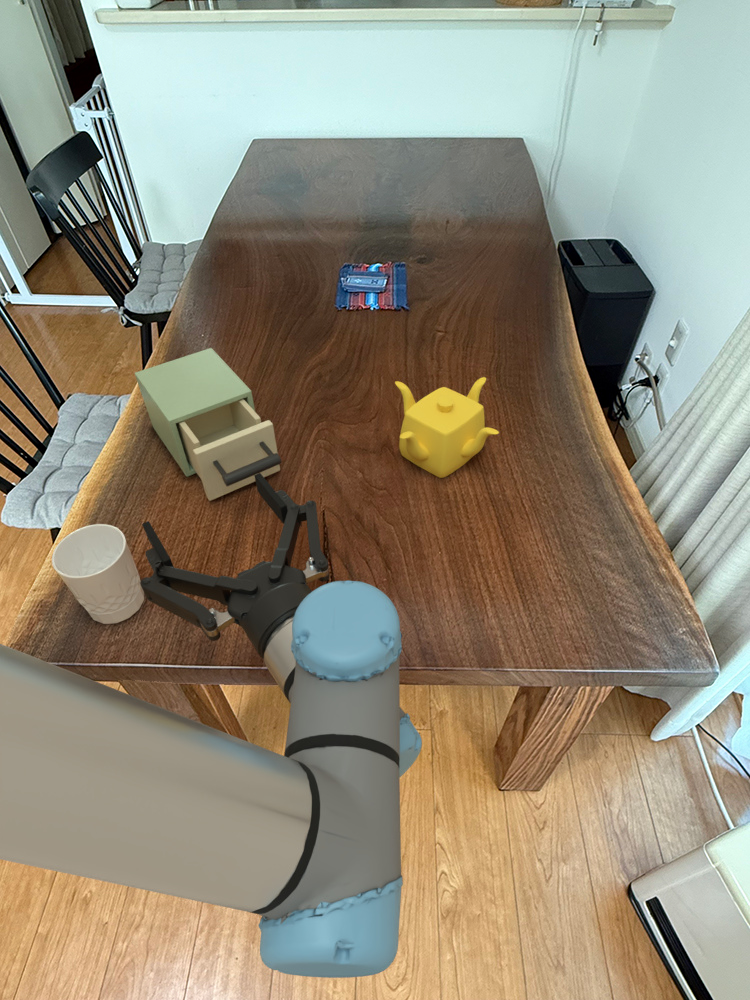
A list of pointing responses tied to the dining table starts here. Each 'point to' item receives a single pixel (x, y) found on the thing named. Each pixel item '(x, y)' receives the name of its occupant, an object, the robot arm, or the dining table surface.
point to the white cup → (100, 572)
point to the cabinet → (188, 395)
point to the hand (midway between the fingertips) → (205, 505)
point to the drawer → (229, 447)
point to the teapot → (443, 428)
